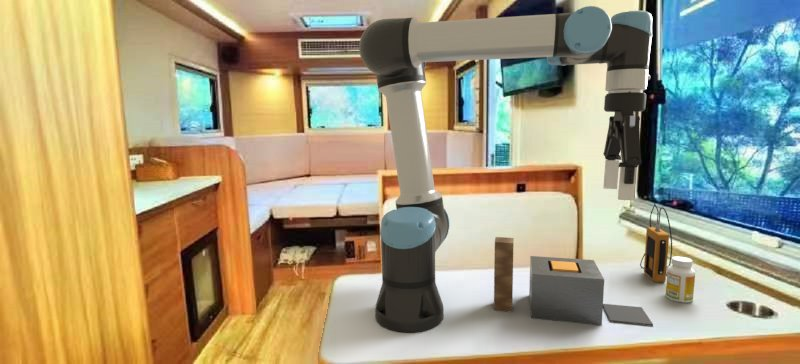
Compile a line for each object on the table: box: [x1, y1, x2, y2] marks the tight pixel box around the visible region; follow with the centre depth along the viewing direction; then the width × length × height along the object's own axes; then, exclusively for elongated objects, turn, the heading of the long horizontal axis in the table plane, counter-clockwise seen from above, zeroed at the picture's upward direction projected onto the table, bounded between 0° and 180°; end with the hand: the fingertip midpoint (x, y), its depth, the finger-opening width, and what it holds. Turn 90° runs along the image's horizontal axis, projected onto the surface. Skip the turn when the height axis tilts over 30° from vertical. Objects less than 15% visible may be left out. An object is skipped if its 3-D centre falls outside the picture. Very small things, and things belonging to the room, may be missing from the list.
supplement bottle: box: [665, 255, 696, 304], centre depth 96 cm, size 5×5×10 cm
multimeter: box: [639, 203, 673, 283], centre depth 107 cm, size 15×10×20 cm
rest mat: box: [603, 303, 654, 327], centre depth 89 cm, size 8×8×1 cm
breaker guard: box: [528, 255, 605, 326], centre depth 92 cm, size 14×12×10 cm
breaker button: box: [551, 261, 579, 273], centre depth 92 cm, size 5×5×6 cm
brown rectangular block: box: [493, 236, 515, 313], centre depth 93 cm, size 4×4×16 cm
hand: (617, 194), depth 87 cm, fingers open, 13 cm apart
